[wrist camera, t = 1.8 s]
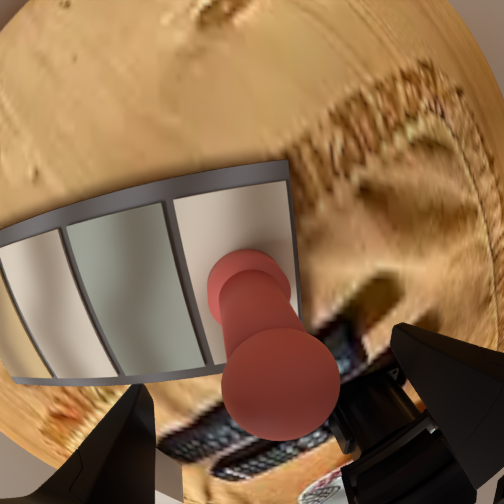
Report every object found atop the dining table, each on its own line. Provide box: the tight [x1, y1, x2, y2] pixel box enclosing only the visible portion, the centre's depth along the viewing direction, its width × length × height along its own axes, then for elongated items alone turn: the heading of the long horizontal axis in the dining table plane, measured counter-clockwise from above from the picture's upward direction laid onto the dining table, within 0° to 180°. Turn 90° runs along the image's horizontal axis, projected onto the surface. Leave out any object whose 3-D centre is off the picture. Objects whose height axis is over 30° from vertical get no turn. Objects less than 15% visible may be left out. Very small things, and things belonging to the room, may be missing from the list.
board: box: [0, 160, 303, 386], centre depth 14 cm, size 24×12×1 cm, turn 98°
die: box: [155, 448, 184, 504], centre depth 18 cm, size 5×5×5 cm
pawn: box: [207, 249, 340, 441], centre depth 10 cm, size 4×4×9 cm
